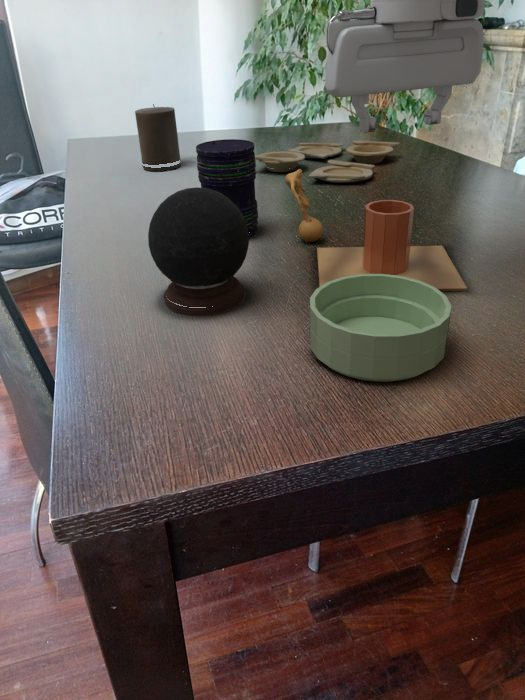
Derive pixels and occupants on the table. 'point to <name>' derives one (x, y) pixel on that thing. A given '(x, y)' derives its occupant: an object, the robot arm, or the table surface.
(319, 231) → the figurine
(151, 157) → the pillar candle
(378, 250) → the cup
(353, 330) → the bowl
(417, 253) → the placemat
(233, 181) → the storage jar
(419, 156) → the table surface
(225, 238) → the black ball on stand
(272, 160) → the tableware set
